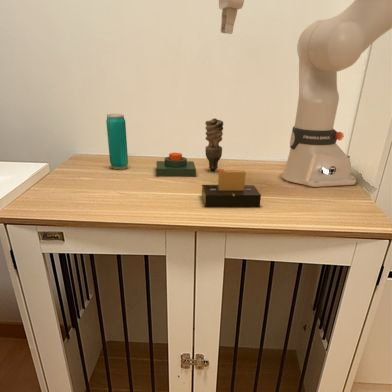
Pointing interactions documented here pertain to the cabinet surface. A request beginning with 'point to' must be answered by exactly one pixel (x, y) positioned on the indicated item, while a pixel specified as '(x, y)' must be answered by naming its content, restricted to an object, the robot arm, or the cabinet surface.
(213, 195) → the panel
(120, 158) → the beverage can
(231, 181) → the tan rectangular block
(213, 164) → the light bulb
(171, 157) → the button
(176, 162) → the button block
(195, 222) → the cabinet surface
